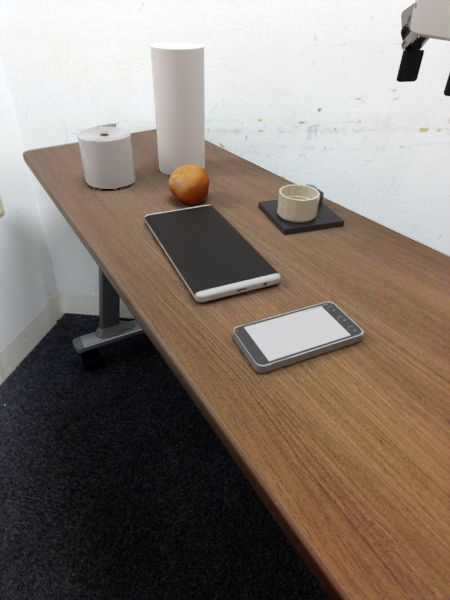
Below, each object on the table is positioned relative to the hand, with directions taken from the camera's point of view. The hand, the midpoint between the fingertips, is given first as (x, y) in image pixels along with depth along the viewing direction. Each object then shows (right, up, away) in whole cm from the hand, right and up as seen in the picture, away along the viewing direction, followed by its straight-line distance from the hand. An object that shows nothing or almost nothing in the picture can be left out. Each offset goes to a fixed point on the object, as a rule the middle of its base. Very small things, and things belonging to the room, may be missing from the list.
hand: (428, 87), depth 59 cm
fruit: (-35, -10, +27) cm, 45 cm away
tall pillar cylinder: (-38, +1, +41) cm, 56 cm away
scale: (-14, -14, +22) cm, 29 cm away
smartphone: (-19, -34, -6) cm, 40 cm away
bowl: (-15, -14, +19) cm, 28 cm away
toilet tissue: (-54, -3, +34) cm, 64 cm away
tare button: (-12, -9, +24) cm, 28 cm away
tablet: (-32, -22, +11) cm, 40 cm away
